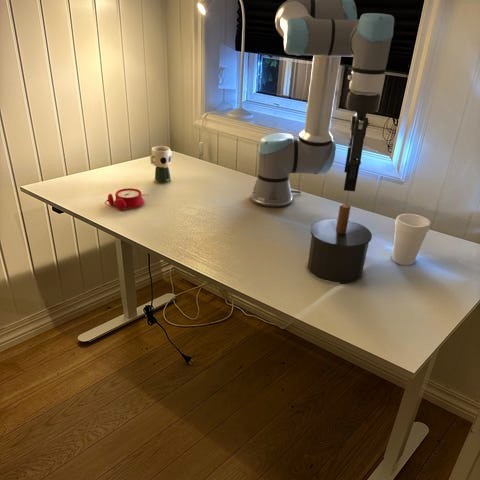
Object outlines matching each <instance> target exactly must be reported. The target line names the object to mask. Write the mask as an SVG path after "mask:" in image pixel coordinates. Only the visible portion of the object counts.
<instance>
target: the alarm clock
mask: <svg viewBox="0 0 480 480" xmlns="http://www.w3.org/2000/svg"><path fill="white" fill-rule="evenodd" d="M114 193H115V194H114V196H115V200H114V196H113V194H112V193H109V194H108V195H107V199H106V201H105V202H104V205H106V206H108V207H115V208H116V209H117V210H119V211H125V210H126V209H131V210H132V209H136V208H140V207H142V206H144V204H145V199H144V198H143V197H144V196H145V194H143V193H142V191H141V190H140V189H137V188H130V187H129V188H128V187H127V188H122V189H121V188H120V189H119V190H117V191H115V192H114ZM146 196H149V194H148V193H147V194H146Z"/></svg>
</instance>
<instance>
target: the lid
mask: <svg viewBox="0 0 480 480" xmlns="http://www.w3.org/2000/svg"><path fill="white" fill-rule="evenodd" d="M350 212H351V205H350V204H348V203H341V204H340V205H339V210H338V215H337V218H336V219H335V218H332V219H331V218H329V219H322V220H319V221H316V222H314V223H313V224H311V226H310V229H309V232H310V233H309V234H310V235H311V237H312V236H313V237H314V238H315V239H316V240H318V241H320V242H322V243H324V244H327V245H331V246H335V247H344V248H353V247H360V246H363V245H366V244H367V243H370V242H371V241H372V238H373V233H372V231H371V230H370V229H369V228H367V227H366V226H364V225H363V224H361V223H358V222H354V221H351V220H349V218H350V214H351V213H350Z"/></svg>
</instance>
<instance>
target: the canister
mask: <svg viewBox="0 0 480 480" xmlns="http://www.w3.org/2000/svg"><path fill="white" fill-rule="evenodd" d="M369 243H370V242H369ZM369 243H367V244H366V245H363V246H360V247H353V248H344V247H335V246H331V245H327V244H324V243H322V242H320V241H318V240H316V239H315V238H314V237H313V236H312V235H311V236H310V245H309V246H310V247H309V253H308V260H307V266H306V267H307V269H308V271H309V273H310V274H312V275H313V276H314V277H316V278H318V279H321V280H323V281H327V282H332V283H338V284H339V285H345V284H351V283H355V282H357V281H359V280H360V279H361V277H362V275H363V271H364V267H365V263H366V258H367V253H368V248H369Z"/></svg>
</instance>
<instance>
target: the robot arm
mask: <svg viewBox="0 0 480 480" xmlns="http://www.w3.org/2000/svg"><path fill="white" fill-rule="evenodd" d="M356 6H357V5H356V3H355V0H286V1H285V2H283V3H282V4H281V5H280V6H279V8H278V9H277V11H276V14H275V17H274V24H275V28H276V31H277V32H278V34H279V35H280V36H281V37H282V39H283V50H284V53H286V54H287V55H293V56H294V55H295V56H297V57H298V56H299V57H301V56H313V58H312V66H311V74H310V81H309V82H310V83H309V88H308V89H309V90H308V97H307V104H306V105H307V106H306V113H305V121H304V127H303V128H304V129H303V130H301V131H300V132H299V135H298V138H294V136H293V135H292V134H290V133H284V132H277V133H276V132H275V133H271V134H268V135H265V136H263V137H262V138H261V139H260V140H259V148H258V151H257V152H258V153H257V154H258V163H257V164H258V165H257V177H256V178H257V179H256V181H255V184H254V186H253V189H252V192H251V201H252V202H253V203H255V204H256V205H259V206H262V207H267V208H268V207H269V208H280V207H281V208H282V207H285V206H288V205H290V204H292V202H293V201H292V200H293V194H294V193H295V194H301V192H302V191H300V190H292V189H291V185H290V174H307V175H308V174H309V175H310V174H311V175H319V174H320V175H321V174H327V173H328V172H329V171H330V170H331V168H332V167H333V164H334V161H335V158H336V149H337V145H336V141H335V140H334V139H333V135H332V134H331V132H330V128H331V123H332V115H333V108H334V104H335V103H334V102H335V96H336V92H337V91H336V90H337V84H338V77H339V73H340V72H339V71H340V65H341V58H342V57H343V58H344V57H345V58H346V57H347V58H353V59H352V65H351V74H348V75H347V80H349V86H348V89H349V90H350V91H348V93H347V97H346V103H345V108H346V110H348V111H350V112H354V113H353V116H351V118H350V128H349V129H350V135H349V138H348V146H347V153H346V159H345V164H344V170H343V171H344V172H343V173H345V179H344V186H343V191H346V192H356V187H357V183H358V182H357V181H358V176H359V171H360V165H362V161H361V160H362V154H363V147H364V141H365V138H366V135H367V129H368V127H369V121H370V120H369V117H367V115H368V114H373V113H376V112H378V110H379V106H380V101H381V94H380V93H381V92H382V91H383V88H384V87H383V86H384V82H385V76H386V69H387V64H388V59H389V53H390V48H391V44H392V38H393V37H394V27H395V17H394V16H393V15H392V14H386V13H379V12H378V13H376V12H366V13H362V14H361V15H360V17H359V18H358V12H357V7H356Z"/></svg>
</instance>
